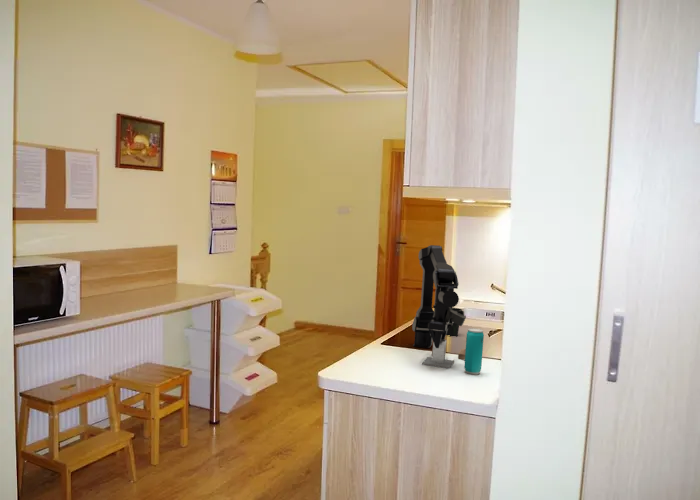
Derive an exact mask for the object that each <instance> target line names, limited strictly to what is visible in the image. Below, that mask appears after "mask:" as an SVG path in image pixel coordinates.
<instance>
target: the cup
mask: <svg viewBox="0 0 700 500" xmlns="http://www.w3.org/2000/svg"><path fill="white" fill-rule="evenodd" d="M452 310H453V311H457V312H458V311H460V310H462V311H463V309H462V308H458V307H452ZM449 323H450V324H451V322H449ZM459 330H460V326H459V325H457V324H456V323H453V325H452V326H450V327H449V328H448V330H447V333H446V335H450V336H449V337H451V336H456V337H458V335H459Z"/></svg>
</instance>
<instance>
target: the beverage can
mask: <svg viewBox="0 0 700 500" xmlns="http://www.w3.org/2000/svg"><path fill="white" fill-rule="evenodd" d="M484 336H485V334H484V330H483V329H481V328H473V327H472V328H471V327H470V328H468V329H467V332H466V337H465V338H466V340H465V349H466V350H465V360H464V372H465V373H466V374H469V375H474V376H475V375H479V374H480V372H481V370H482V364H483V351H484V338H485V337H484Z"/></svg>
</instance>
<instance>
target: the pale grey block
mask: <svg viewBox="0 0 700 500" xmlns="http://www.w3.org/2000/svg"><path fill="white" fill-rule="evenodd" d="M432 350H433V354H432V353H431V357H432V362H434V363H441V364H443V363H444V362H445V359H446V351H447V339H446V338H445V339H441V342H440V346H439V348H436V347H435V345H434V342H433V341H432Z"/></svg>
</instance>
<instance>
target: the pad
mask: <svg viewBox="0 0 700 500" xmlns="http://www.w3.org/2000/svg"><path fill="white" fill-rule="evenodd" d="M454 363H455V360H454V359H453V360H452V359H446V358H445V362H444V363H443V364H441V363H434V362H432V356H427V357H426V358H425V359H424V360H423V361H422V362H421V365H422V366H430V367H434V368H435V367H437V368H443V369H451V367H452V366H453V365H454Z"/></svg>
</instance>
